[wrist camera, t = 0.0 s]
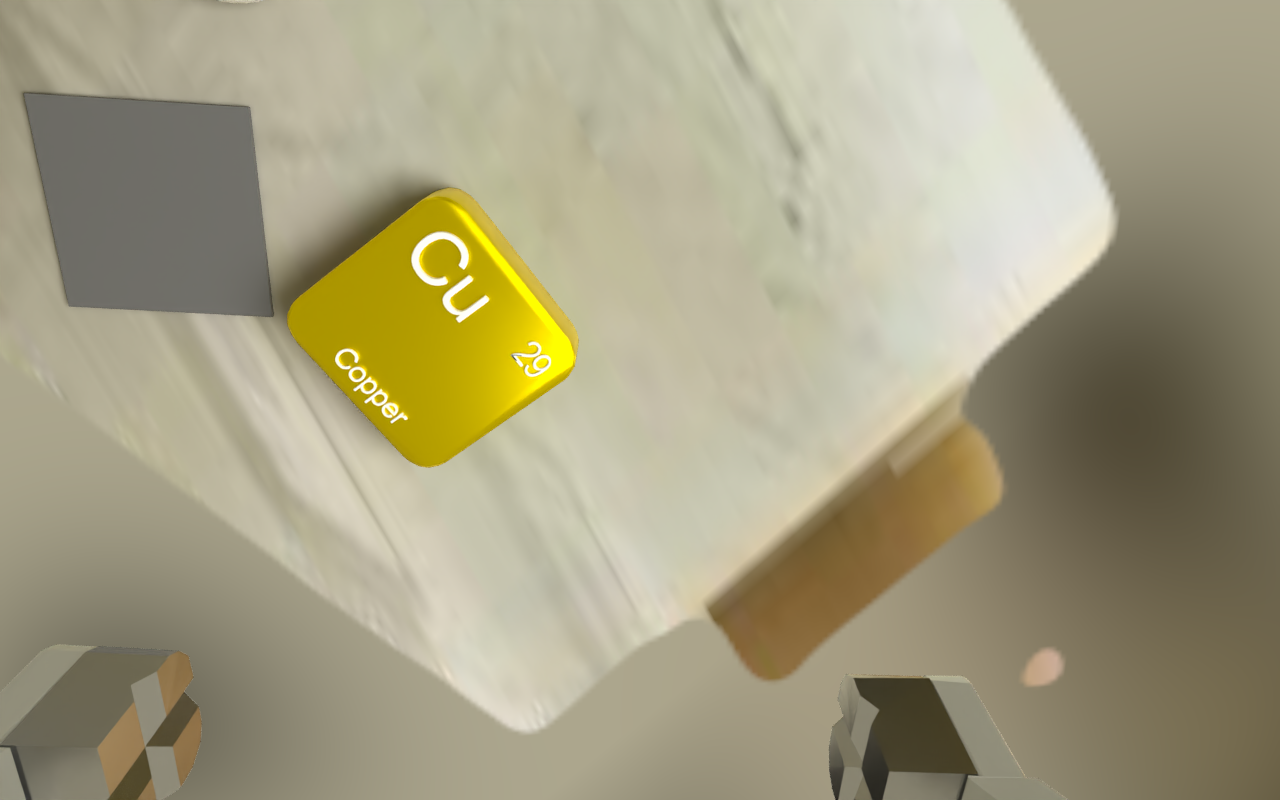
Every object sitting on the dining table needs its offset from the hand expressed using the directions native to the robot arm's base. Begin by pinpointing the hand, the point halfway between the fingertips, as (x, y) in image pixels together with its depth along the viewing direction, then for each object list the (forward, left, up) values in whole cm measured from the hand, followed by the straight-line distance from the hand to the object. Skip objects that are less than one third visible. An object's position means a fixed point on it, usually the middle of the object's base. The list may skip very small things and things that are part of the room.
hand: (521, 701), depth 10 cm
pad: (+3, -30, -48) cm, 57 cm away
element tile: (+10, -11, -49) cm, 51 cm away
